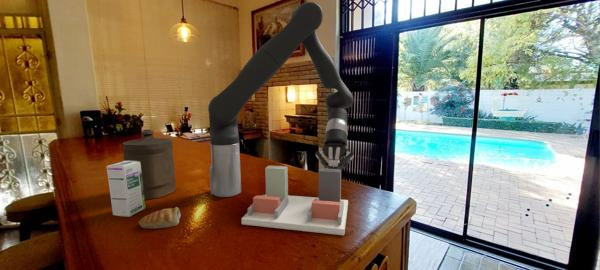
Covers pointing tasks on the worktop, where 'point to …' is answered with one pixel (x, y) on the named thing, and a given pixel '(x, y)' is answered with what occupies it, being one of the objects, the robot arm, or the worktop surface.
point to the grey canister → (153, 163)
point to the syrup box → (126, 188)
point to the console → (298, 214)
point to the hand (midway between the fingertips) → (332, 179)
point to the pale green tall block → (276, 181)
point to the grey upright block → (330, 185)
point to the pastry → (161, 218)
